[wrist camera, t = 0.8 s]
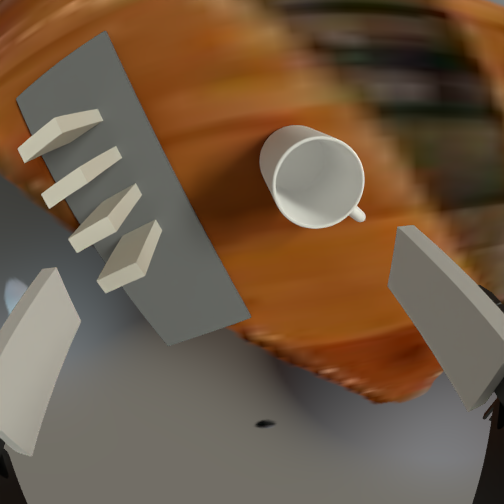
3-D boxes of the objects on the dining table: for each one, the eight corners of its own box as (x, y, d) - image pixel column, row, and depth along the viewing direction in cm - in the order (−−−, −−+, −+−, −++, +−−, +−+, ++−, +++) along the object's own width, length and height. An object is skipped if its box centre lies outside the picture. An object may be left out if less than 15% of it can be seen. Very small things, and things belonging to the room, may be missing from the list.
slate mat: (18, 98, 26) (15, 98, 25) (106, 31, 24) (104, 30, 24) (168, 343, 46) (167, 346, 45) (250, 314, 44) (251, 317, 44)
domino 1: (64, 131, 29) (17, 148, 20) (97, 108, 28) (54, 117, 19) (70, 142, 29) (24, 163, 21) (103, 120, 29) (62, 132, 20)
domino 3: (102, 201, 33) (67, 239, 25) (135, 183, 33) (107, 216, 24) (108, 212, 34) (76, 253, 25) (142, 194, 34) (116, 231, 25)
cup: (288, 109, 31) (314, 115, 22) (362, 173, 35) (404, 201, 27) (243, 166, 34) (251, 194, 25) (320, 222, 38) (349, 264, 29)
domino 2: (82, 166, 31) (41, 194, 22) (115, 145, 31) (79, 166, 22) (88, 178, 32) (49, 208, 23) (122, 157, 31) (88, 182, 23)
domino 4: (122, 235, 36) (96, 280, 27) (155, 219, 35) (136, 262, 27) (128, 246, 37) (105, 293, 28) (162, 230, 36) (145, 275, 27)
